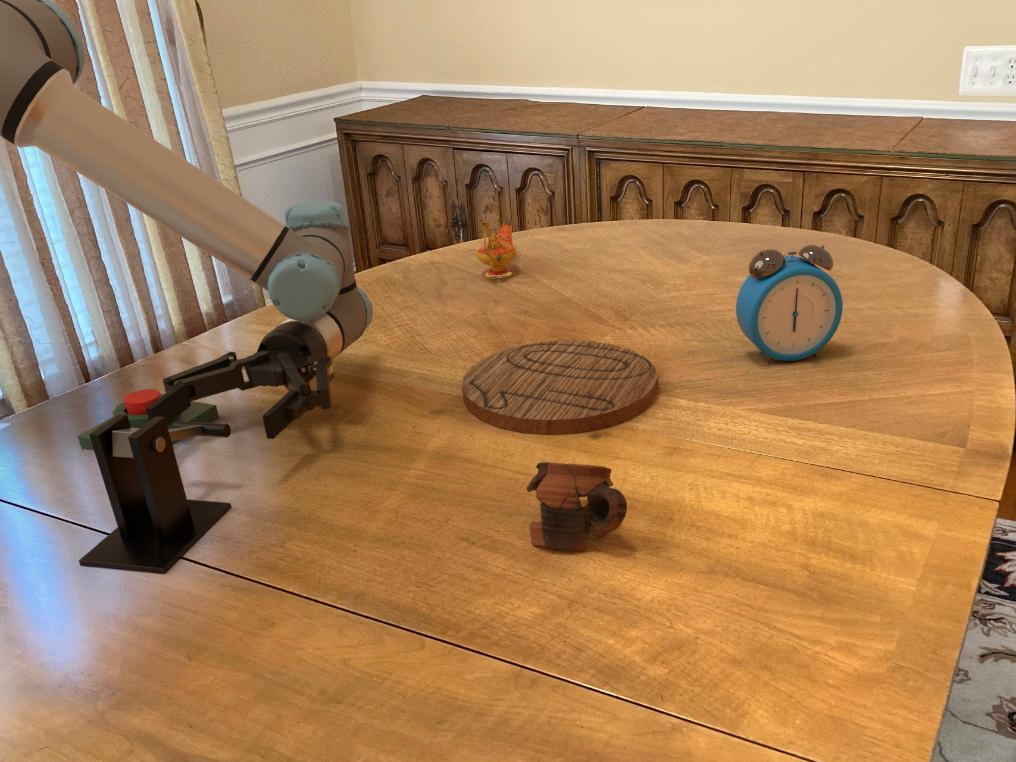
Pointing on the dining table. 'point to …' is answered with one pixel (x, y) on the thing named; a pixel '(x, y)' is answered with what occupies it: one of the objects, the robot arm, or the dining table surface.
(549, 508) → the pottery mug
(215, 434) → the lever
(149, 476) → the bracket
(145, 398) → the button
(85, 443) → the button block
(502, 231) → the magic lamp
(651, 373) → the trivet
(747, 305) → the alarm clock
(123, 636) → the dining table surface
